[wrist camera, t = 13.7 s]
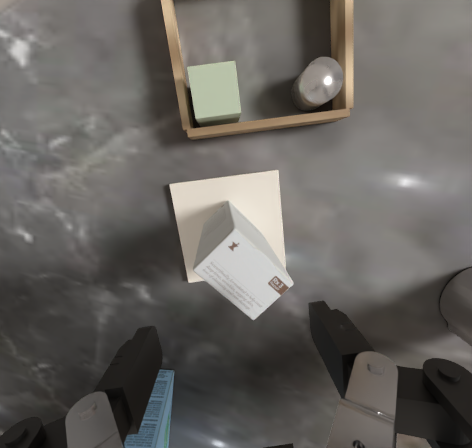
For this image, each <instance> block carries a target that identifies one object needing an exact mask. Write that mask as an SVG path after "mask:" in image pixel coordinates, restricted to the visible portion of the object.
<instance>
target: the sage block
mask: <svg viewBox="0 0 472 448" xmlns="http://www.w3.org/2000/svg"><path fill="white" fill-rule="evenodd" d="M187 69H188V75H189V81H190V88H191V94H192V100H193V106H194V112H195V118H196V120H197V122H198V123H199V124H200V126H201V127H204V126H212V125H219V124H226V123H234V122H238V121H239V118H240V115H241V107H240V99H239V90H238V81H237V73H236V64H235V61H229V62H221V63H214V64H206V65H199V66H191V67H187Z"/></svg>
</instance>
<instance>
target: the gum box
mask: <svg viewBox="0 0 472 448" xmlns="http://www.w3.org/2000/svg"><path fill="white" fill-rule="evenodd" d="M173 382H174V370H162V369H160V370H159V373H158V376H157V379H156V382H155V385H154V388H153V391H152V394H151V397H150V399H149V402H148V405H147V408H146V411H145V414H144V417H143V420H142V423H141V426H140V429H139V432H138V434H132V435H127V437H126V440H125V442H124V446H125V448H168V445H169V433H170V421H171V408H172V395H173Z"/></svg>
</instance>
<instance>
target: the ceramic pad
mask: <svg viewBox="0 0 472 448" xmlns="http://www.w3.org/2000/svg"><path fill="white" fill-rule="evenodd" d="M169 185H170V190H171V195H172V200H173V205H174V210H175V216H176V221H177V226H178V231H179V236H180V241H181V246H182V251H183V257H184V262H185V267H186V272H187V277H188V282H189V283H191V282H198V281H205V280H204V279H202V278H201V277H200V276H199V275H197V274H196V273H195V272H194V271H193V266H194V262H195V259H196V254H197V249H198V245H199V241H200V237H201V233H202V229H203V225H204V223H205V222H206V221H207V220H208V219H209V218H210V217H211V216H212V215H213V214H214V213H215V212H216V211H217V210H218V209H219V208H220V207H221V206H222V205H223V204H224V203H225V202H226V201H227V200H228V201H230V202H231V203H232V204H233V205H234V206H235V207H236V208H237V209H238V210H239V211H240V212H241V213H242V214H243V215H244V216H245V217H246V218H247V219H248V220H249V221H250V222H251V223H252V224H253V225H254V226H255V227H256V228H257V229H258V230H259V231H260V232H261V233H262V234H263V235H264V237H265V239H266V240H267V242H268V243H269V245H270V246H271V248H272V249H273V251H274V253H275V254H276V256H277V257H278V259H279V260H280V262H281V263H282V265H283V266H284V268H285V270H286V263H285V250H284V238H283V225H282V213H281V200H280V187H279V175H278V170H271V171H263V172H256V173H248V174H241V175H233V176H225V177H218V178H210V179H202V180H195V181H187V182H179V183H172V184H169Z"/></svg>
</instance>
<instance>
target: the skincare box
mask: <svg viewBox="0 0 472 448" xmlns="http://www.w3.org/2000/svg"><path fill="white" fill-rule="evenodd" d="M193 271H194V272H195V273H196V274H197V275H199V276H200V277H201V278H202V279H204V280H205V281H206V282H207V283H209V284H210V285H211V286H212V287H213V288H215V289H216V290H217V291H218V292H219V293H221V294H222V295H223V296H224V297H226V298H227V299H228V300H229V301H231V302H232V303H233V304H234V305H235V306H237V307H238V308H239V309H240V310H241V311H243V312H244V313H245V314H246V315H247V316H249V317H250V318H251V319H252V320H255V319H256V318H257V317H258V316H259V315H260V314H261V313H262V312H263V311H264V310H266V309H267V308H268V307H269V306H270V305H271V304H272V303H273V302H274V301H275V300H276V299H278V298H279V297H280V296H281V295H282V294H283V293H284V292H285V291H286V290H288V289H289V288H290V287H291V286H292V285H293V281H292V279H291V278H290V276H289V274H288V273H287V271H286V270H285V268H284V266H283V265H282V263H281V262H280V260H279V259H278V257H277V256H276V254H275V253H274V251H273V249H272V248H271V246H270V245H269V243H268V242H267V240H266V239H265V237H264V235H263V234H262V233H261V232H260V231H259V230H258V229H257V228H256V227H255V226H254V225H253V224H252V223H251V222H250V221H249V220H248V219H247V218H246V217H245V216H244V215H243V214H242V213H241V212H240V211H239V210H238V209H237V208H236V207H235V206H234V205H233V204H232V203H231V202H230V201H228V200H227V201H226V202H225V203H224V204H223V205H222V206H221V207H220V208H219V209H218V210H217V211H216V212H215V213H214V214H213V215H212V216H211V217H210V218H209V219H208V220H207V221H206V222H205V223H204V225H203V229H202V233H201V237H200V241H199V245H198V249H197V254H196V259H195V262H194V266H193Z"/></svg>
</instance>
